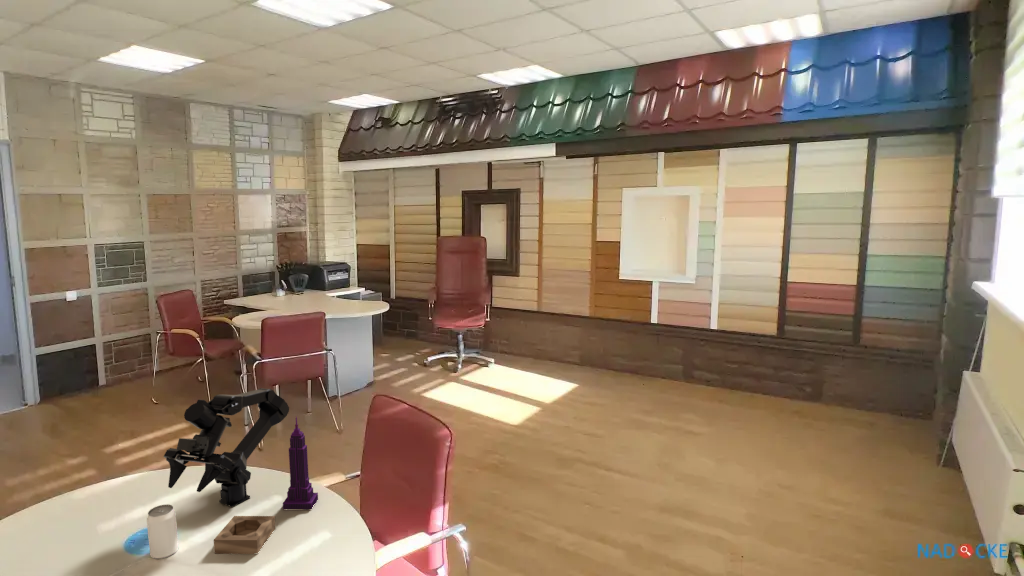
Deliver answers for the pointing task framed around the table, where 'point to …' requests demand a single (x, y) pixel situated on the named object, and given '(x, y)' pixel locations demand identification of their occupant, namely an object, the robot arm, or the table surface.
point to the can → (162, 531)
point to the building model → (299, 475)
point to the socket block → (244, 535)
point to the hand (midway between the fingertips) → (183, 489)
